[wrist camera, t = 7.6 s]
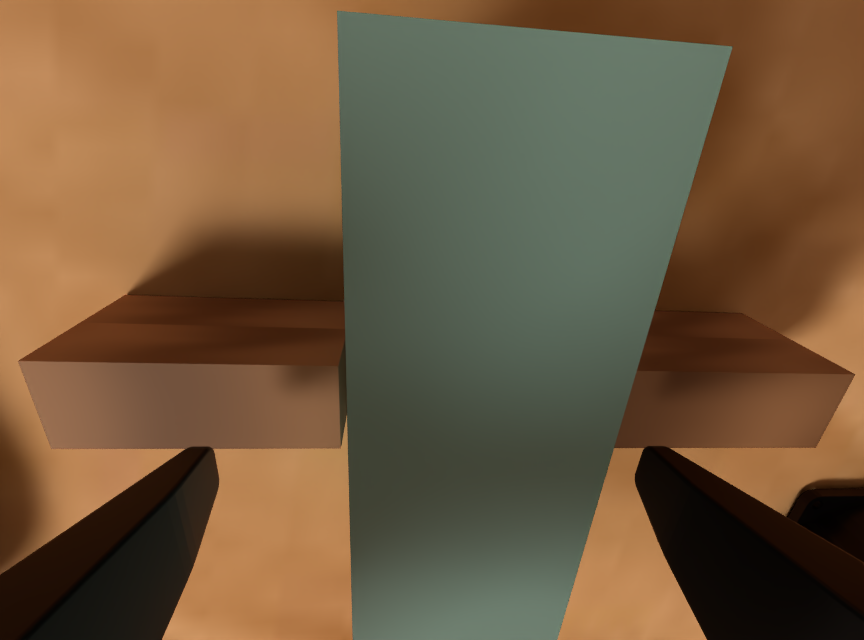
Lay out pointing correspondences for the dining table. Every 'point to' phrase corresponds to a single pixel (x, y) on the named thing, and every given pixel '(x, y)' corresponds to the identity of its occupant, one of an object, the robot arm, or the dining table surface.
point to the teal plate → (498, 301)
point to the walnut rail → (327, 392)
